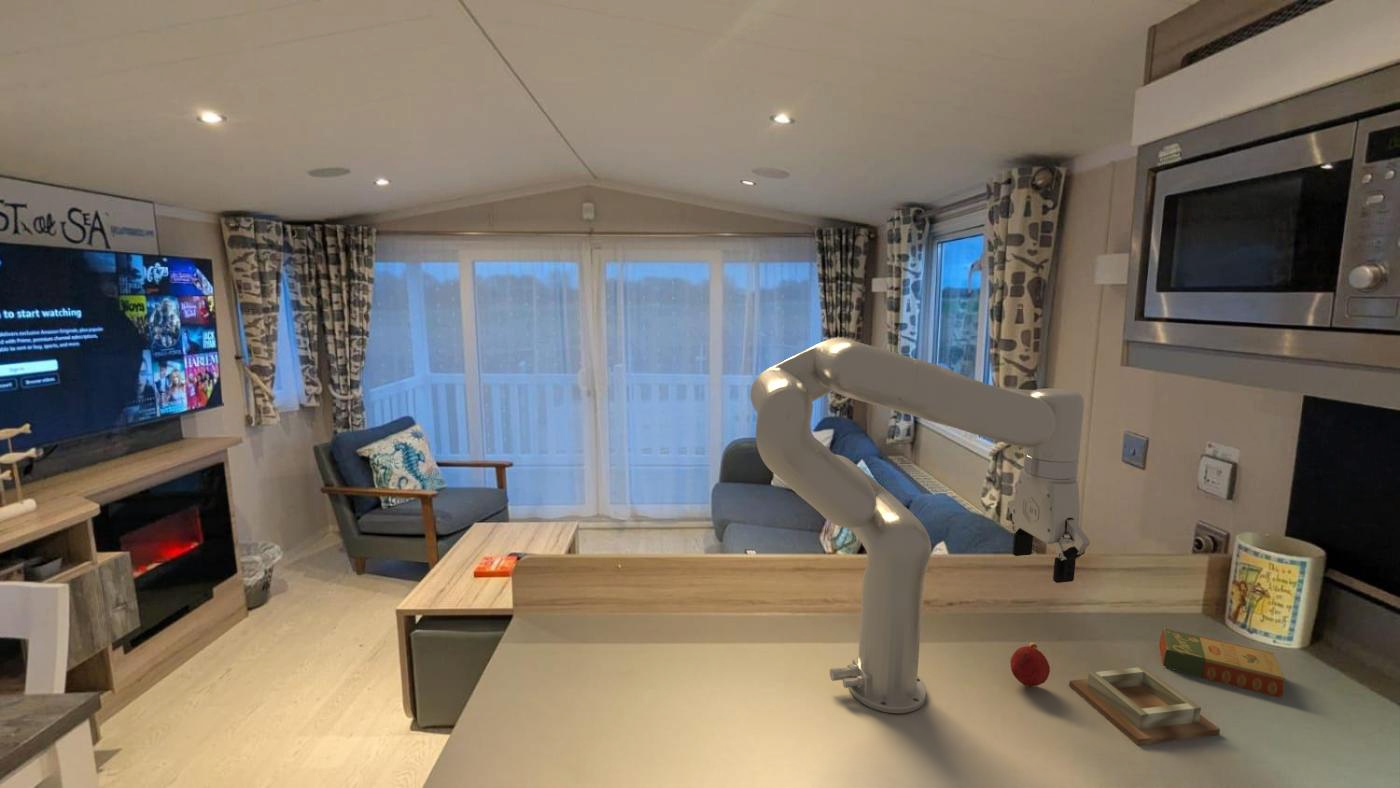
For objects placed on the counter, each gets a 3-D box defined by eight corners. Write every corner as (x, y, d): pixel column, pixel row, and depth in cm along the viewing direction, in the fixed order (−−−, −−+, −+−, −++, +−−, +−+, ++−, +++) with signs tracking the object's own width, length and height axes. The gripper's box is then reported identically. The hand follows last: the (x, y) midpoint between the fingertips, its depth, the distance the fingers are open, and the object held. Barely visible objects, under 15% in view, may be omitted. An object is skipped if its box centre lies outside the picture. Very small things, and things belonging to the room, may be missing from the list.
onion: (1032, 701, 103) (1036, 657, 102) (1001, 682, 108) (1005, 639, 107) (1054, 691, 106) (1059, 647, 104) (1023, 672, 111) (1027, 630, 109)
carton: (1282, 700, 104) (1286, 677, 103) (1162, 669, 112) (1165, 647, 111) (1271, 674, 111) (1275, 651, 110) (1158, 646, 119) (1161, 625, 118)
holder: (1137, 745, 93) (1140, 724, 93) (1069, 686, 107) (1071, 667, 106) (1219, 734, 95) (1222, 714, 95) (1141, 677, 109) (1144, 659, 108)
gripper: (995, 453, 108) (988, 547, 111) (1069, 485, 91) (1058, 595, 94) (1034, 451, 109) (1027, 544, 112) (1114, 482, 92) (1103, 590, 95)
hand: (1041, 567), depth 103 cm, fingers open, 9 cm apart
